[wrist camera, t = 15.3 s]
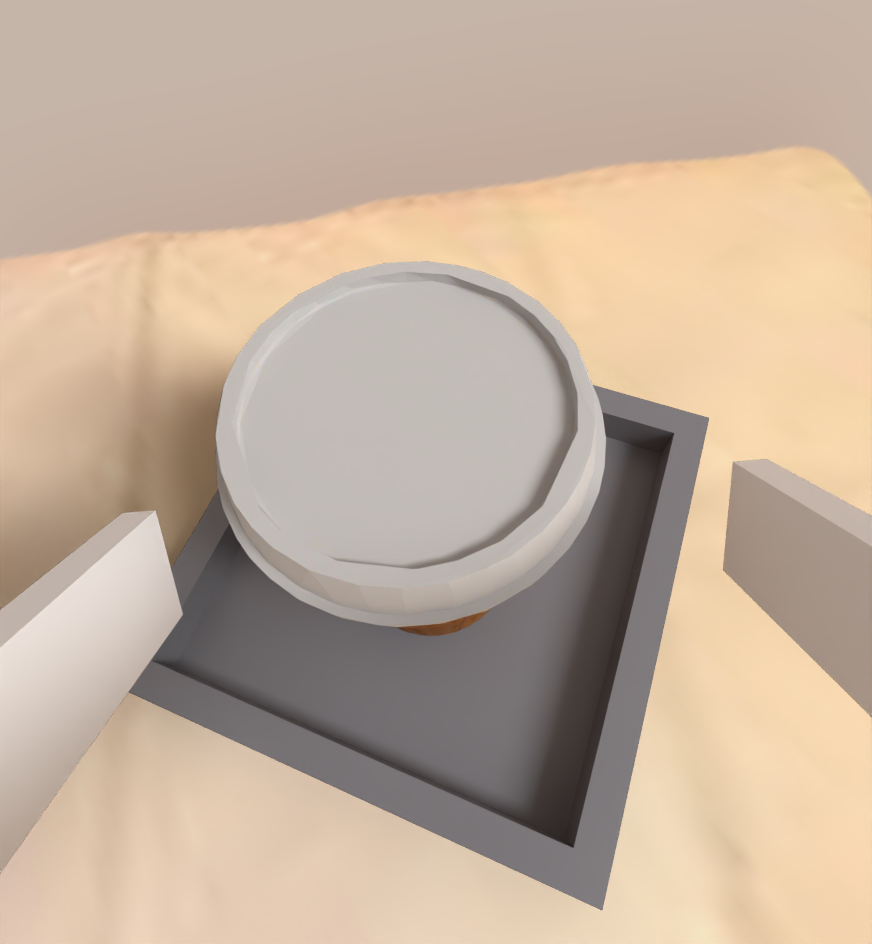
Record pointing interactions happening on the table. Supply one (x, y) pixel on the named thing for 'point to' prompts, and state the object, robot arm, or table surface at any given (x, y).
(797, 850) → the table surface
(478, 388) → the disposable coffee cup
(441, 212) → the table surface
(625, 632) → the charcoal serving tray
